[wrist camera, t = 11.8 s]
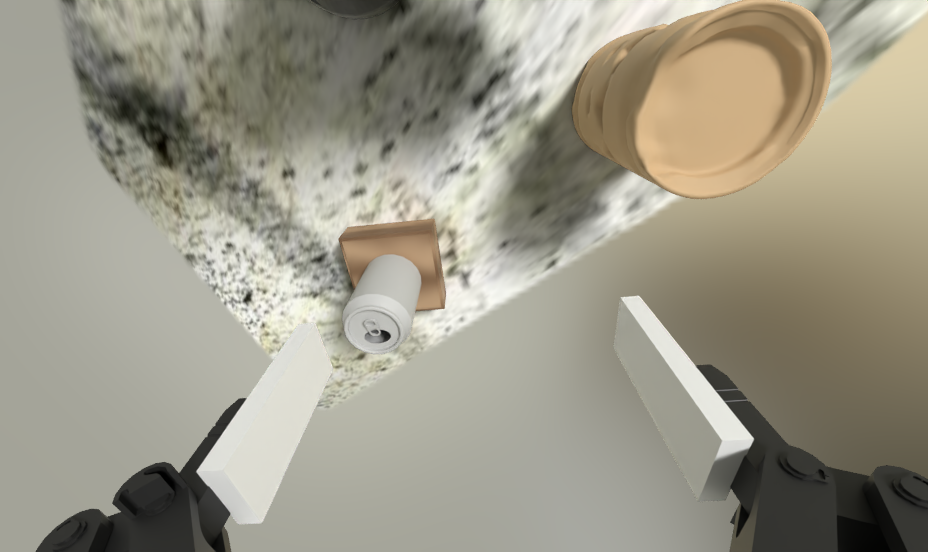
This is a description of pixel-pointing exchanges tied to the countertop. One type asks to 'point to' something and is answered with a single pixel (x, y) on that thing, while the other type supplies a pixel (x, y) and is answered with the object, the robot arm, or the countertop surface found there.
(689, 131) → the container
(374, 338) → the can
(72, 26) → the countertop surface
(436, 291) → the tan cardboard box
